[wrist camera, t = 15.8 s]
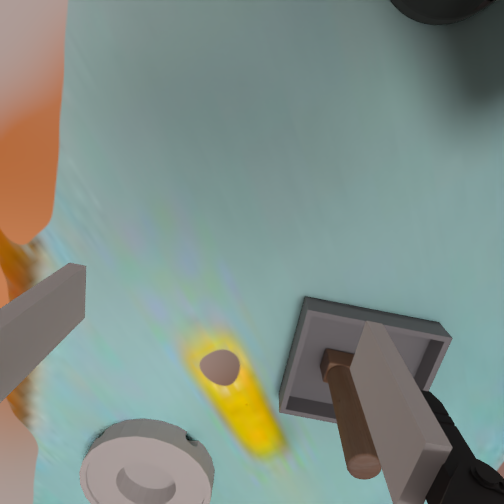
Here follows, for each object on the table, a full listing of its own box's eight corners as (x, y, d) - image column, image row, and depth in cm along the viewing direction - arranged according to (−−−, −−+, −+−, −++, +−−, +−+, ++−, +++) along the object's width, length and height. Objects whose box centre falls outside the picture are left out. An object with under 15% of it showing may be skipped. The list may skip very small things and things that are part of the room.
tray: (305, 296, 51) (307, 309, 47) (439, 322, 51) (452, 338, 47) (278, 393, 57) (279, 412, 53) (398, 416, 57) (407, 436, 53)
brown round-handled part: (386, 381, 53) (440, 498, 37) (318, 366, 53) (340, 477, 36) (395, 361, 52) (454, 473, 35) (325, 346, 52) (351, 451, 35)
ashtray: (218, 512, 67) (215, 535, 64) (101, 507, 69) (92, 529, 65) (210, 418, 60) (206, 438, 56) (80, 415, 61) (67, 434, 57)
